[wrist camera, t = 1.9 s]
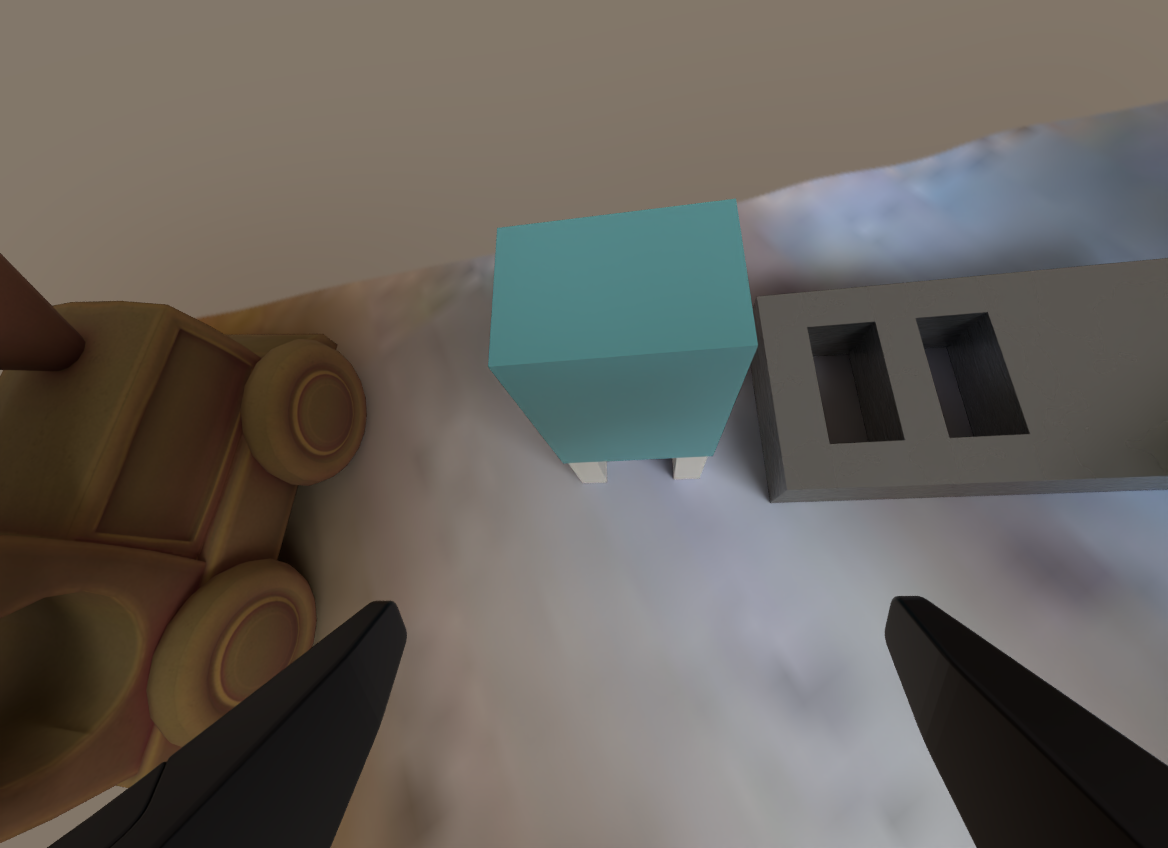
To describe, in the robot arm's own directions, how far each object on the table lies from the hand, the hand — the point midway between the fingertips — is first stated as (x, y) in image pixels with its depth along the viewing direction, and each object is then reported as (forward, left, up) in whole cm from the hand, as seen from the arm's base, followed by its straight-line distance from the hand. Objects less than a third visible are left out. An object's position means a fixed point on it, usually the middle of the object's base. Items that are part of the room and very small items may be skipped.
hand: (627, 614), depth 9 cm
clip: (+6, -4, -13) cm, 15 cm away
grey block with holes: (-1, -17, -13) cm, 21 cm away
